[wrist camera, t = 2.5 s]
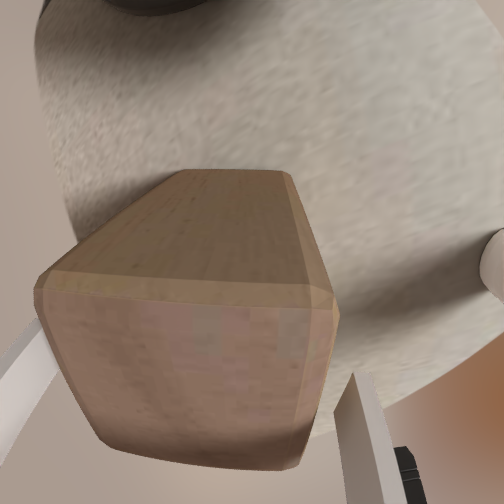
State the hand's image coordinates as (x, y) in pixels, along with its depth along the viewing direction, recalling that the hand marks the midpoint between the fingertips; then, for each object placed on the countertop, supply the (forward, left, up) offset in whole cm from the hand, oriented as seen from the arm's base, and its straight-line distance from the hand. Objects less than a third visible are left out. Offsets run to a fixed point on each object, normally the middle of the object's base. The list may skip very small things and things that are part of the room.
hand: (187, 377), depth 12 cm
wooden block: (0, 0, -18) cm, 18 cm away
